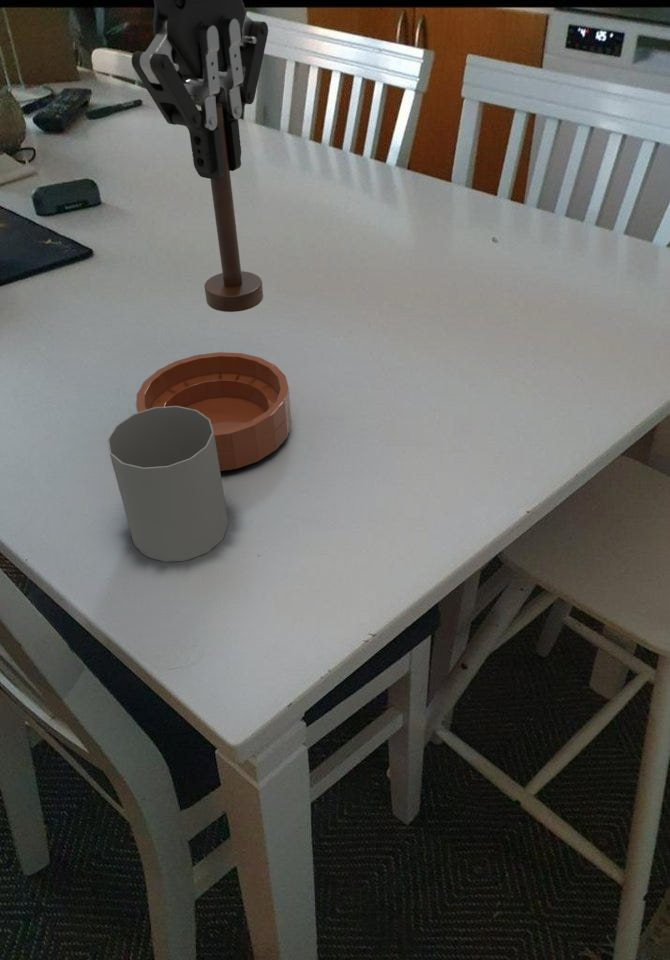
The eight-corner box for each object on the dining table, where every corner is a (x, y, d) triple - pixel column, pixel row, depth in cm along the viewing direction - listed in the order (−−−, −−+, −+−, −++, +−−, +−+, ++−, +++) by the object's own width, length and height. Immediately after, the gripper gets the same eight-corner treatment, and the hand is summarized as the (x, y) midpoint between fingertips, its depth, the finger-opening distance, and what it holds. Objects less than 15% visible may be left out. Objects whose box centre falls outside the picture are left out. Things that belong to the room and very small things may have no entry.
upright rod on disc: (219, 317, 69) (192, 118, 59) (198, 295, 72) (168, 103, 62) (272, 302, 70) (255, 107, 60) (249, 281, 74) (229, 92, 64)
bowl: (175, 497, 74) (166, 454, 71) (127, 418, 84) (117, 377, 81) (316, 447, 79) (313, 405, 76) (255, 378, 89) (250, 338, 86)
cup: (113, 547, 69) (86, 454, 63) (163, 488, 75) (143, 398, 69) (199, 571, 67) (180, 477, 60) (244, 509, 72) (231, 417, 66)
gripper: (207, -104, 59) (233, 142, 70) (70, -85, 50) (125, 193, 61) (292, -103, 56) (305, 154, 67) (162, -83, 47) (203, 209, 58)
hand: (219, 171), depth 64 cm, fingers closed on upright rod on disc
